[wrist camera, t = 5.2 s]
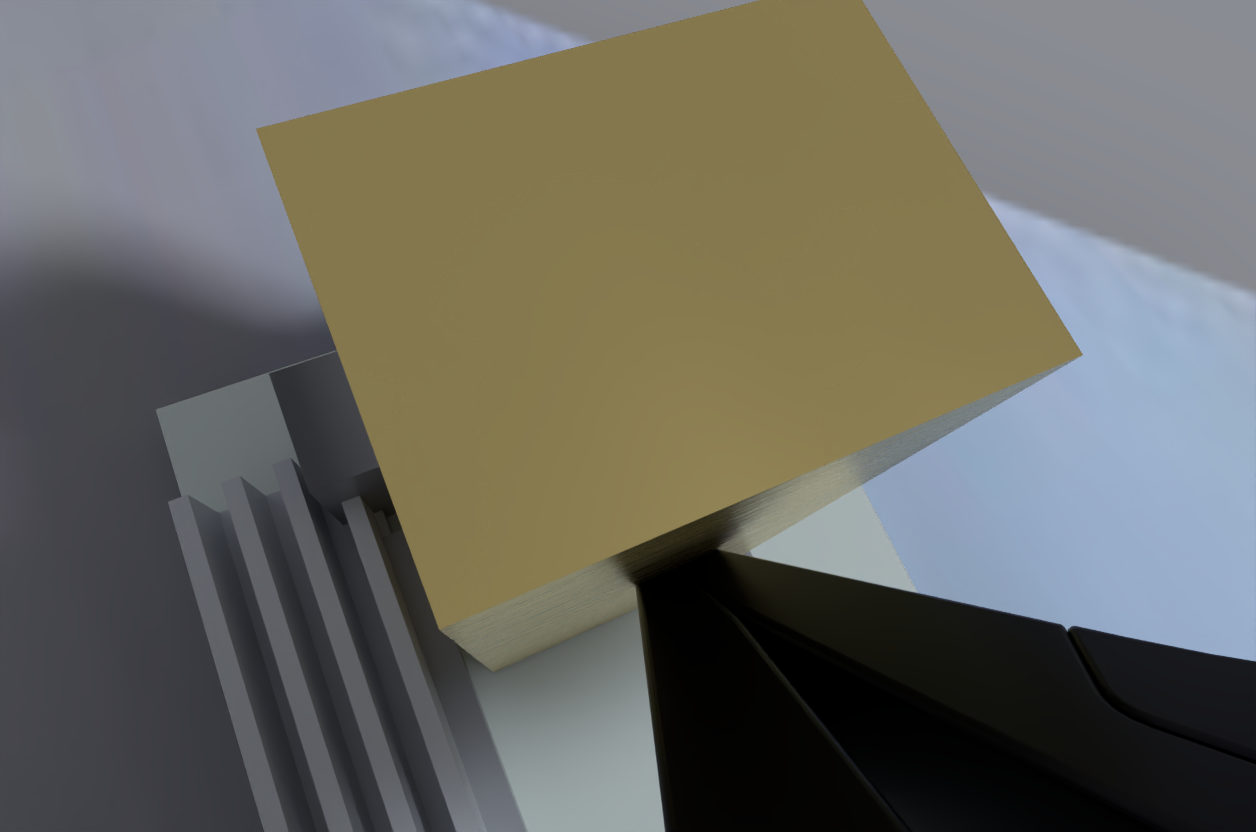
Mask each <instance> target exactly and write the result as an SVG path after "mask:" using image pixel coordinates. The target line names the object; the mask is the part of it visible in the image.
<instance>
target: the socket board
mask: <svg viewBox="0 0 1256 832" xmlns="http://www.w3.org/2000/svg"><path fill="white" fill-rule="evenodd" d="M156 413H157V416H158V419H159V423H160V426H161V429H162V433H163V436H164V439H165V443H166V446H167V450H168V453H169V456H170V460H171V463H172V466H173V470H174V473H175V476H176V480H177V483H178V487H179V490H180V493H181V497H179V498H176V499H174V500H171V501H168V505H169V508H170V511H171V515H172V518H173V522H174V525H175V529H176V532H177V535H178V539H179V542H180V546H181V549H182V552H183V556H184V559H185V563H186V566H187V570H188V573H189V576H190V580H191V583H192V587H193V590H194V594H195V597H196V600H197V604H198V607H199V611H200V614H201V618H202V621H203V624H204V628H205V631H206V635H207V638H208V642H209V645H210V648H211V652H212V655H213V659H214V662H215V665H216V669H217V672H218V676H219V679H220V683H221V686H222V689H223V693H224V696H225V700H226V703H227V707H228V710H229V713H230V717H231V720H232V724H233V727H234V731H235V734H236V737H237V741H238V744H239V748H240V751H241V754H242V758H243V761H244V765H245V768H246V772H247V775H248V778H249V782H250V785H251V789H252V792H253V796H254V799H255V802H256V806H257V809H258V813H259V816H260V820H261V823H262V826H263V830H264V832H665V828H664V820H663V812H662V803H661V795H660V787H659V779H658V770H657V762H656V754H655V745H654V737H653V729H652V721H651V712H650V704H649V696H648V688H647V679H646V671H645V663H644V655H643V646H642V638H641V630H640V622H639V613H638V609H635V610H633V611H631V612H629V613H627V614H624V615H622V616H620V617H618V618H615V619H613V620H611V621H609V622H606V623H604V624H602V625H600V626H598V627H595V628H593V629H591V630H589V631H586V632H584V633H582V634H580V635H577V636H575V637H573V638H571V639H569V640H566V641H564V642H562V643H560V644H557V645H555V646H553V647H551V648H548V649H546V650H544V651H542V652H540V653H537V654H535V655H533V656H531V657H528V658H526V659H524V660H522V661H519V662H517V663H515V664H513V665H511V666H508V667H506V668H504V669H502V670H499V671H497V672H495V673H494V672H492V671H491V670H490V669H489V668H487V667H486V666H485V665H483V664H482V663H481V662H480V661H478V660H477V659H476V658H475V657H473V656H472V655H471V654H469V653H468V652H467V651H466V650H464V649H463V648H462V647H461V646H459V645H458V644H457V643H455V642H454V641H453V640H452V639H450V638H449V637H448V636H447V635H445V634H444V633H443V632H441V631H440V630H439V628H438V625H437V622H436V620H435V617H434V614H433V611H432V609H431V606H430V603H429V600H428V598H427V595H426V592H425V589H424V587H423V584H422V581H421V579H420V576H419V573H418V570H417V568H416V565H415V562H414V559H413V557H412V554H411V551H410V548H409V546H408V543H407V540H406V538H405V535H404V532H403V529H402V527H401V524H400V521H399V518H398V516H397V513H396V510H395V507H394V505H393V502H392V499H391V497H390V494H389V491H388V488H387V486H386V483H385V480H384V477H383V475H382V472H381V469H380V466H379V464H378V461H377V458H376V456H375V453H374V450H373V447H372V445H371V442H370V439H369V436H368V434H367V431H366V428H365V425H364V423H363V420H362V417H361V415H360V412H359V409H358V406H357V404H356V401H355V398H354V395H353V393H352V390H351V387H350V384H349V382H348V379H347V376H346V374H345V371H344V368H343V365H342V363H341V360H340V357H339V354H338V352H337V350H335V351H332V352H329V353H326V354H323V355H320V356H317V357H314V358H311V359H308V360H305V361H302V362H299V363H296V364H292V365H289V366H286V367H283V368H280V369H277V370H274V371H271V372H268V373H265V374H262V375H259V376H256V377H253V378H250V379H247V380H244V381H241V382H238V383H235V384H232V385H229V386H226V387H222V388H219V389H216V390H213V391H210V392H207V393H204V394H201V395H198V396H195V397H192V398H189V399H186V400H183V401H180V402H177V403H174V404H171V405H168V406H165V407H162V408H159V409H156ZM743 555H747V556H751V557H756V558H760V559H765V560H770V561H774V562H779V563H783V564H788V565H792V566H797V567H802V568H806V569H811V570H815V571H820V572H824V573H829V574H833V575H838V576H843V577H847V578H852V579H856V580H861V581H865V582H870V583H875V584H879V585H884V586H888V587H893V588H897V589H902V590H906V591H911V592H916V593H918V592H917V590H916V589H915V587H914V585H913V583H912V581H911V579H910V577H909V575H908V573H907V571H906V569H905V568H904V566H903V564H902V562H901V560H900V558H899V556H898V554H897V552H896V550H895V548H894V546H893V545H892V543H891V541H890V539H889V537H888V535H887V533H886V531H885V529H884V527H883V525H882V524H881V522H880V520H879V518H878V516H877V514H876V512H875V510H874V508H873V506H872V504H871V503H870V501H869V499H868V497H867V495H866V493H865V491H864V489H863V487H862V485H861V486H859V487H857V488H856V489H854V490H852V491H851V492H849V493H847V494H845V495H844V496H842V497H840V498H839V499H837V500H835V501H834V502H832V503H830V504H828V505H827V506H825V507H823V508H822V509H820V510H818V511H817V512H815V513H813V514H811V515H810V516H808V517H806V518H805V519H803V520H801V521H800V522H798V523H796V524H794V525H793V526H791V527H789V528H788V529H786V530H784V531H783V532H781V533H779V534H777V535H776V536H774V537H772V538H771V539H769V540H767V541H766V542H764V543H762V544H760V545H759V546H757V547H755V548H754V549H752V550H750V551H748V552H747V553H745V554H743Z"/></svg>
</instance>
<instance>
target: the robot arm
mask: <svg viewBox="0 0 1256 832" xmlns="http://www.w3.org/2000/svg"><path fill="white" fill-rule="evenodd" d="M635 589H636V597H637V605H638V613H639V622H640V630H641V638H642V646H643V655H644V663H645V671H646V679H647V688H648V696H649V704H650V712H651V721H652V729H653V737H654V745H655V754H656V762H657V770H658V779H659V787H660V795H661V803H662V812H663V820H664V828H665V832H1256V661H1250V660H1244V659H1238V658H1232V657H1226V656H1220V655H1214V654H1209V653H1204V652H1199V651H1194V650H1189V649H1184V648H1179V647H1174V646H1169V645H1164V644H1159V643H1154V642H1149V641H1144V640H1139V639H1134V638H1129V637H1124V636H1119V635H1115V634H1110V633H1105V632H1101V631H1096V630H1092V629H1087V628H1082V627H1078V626H1072V627H1070V628H1069V629H1068V632H1067V630H1066V629H1065V627H1064V626H1063V625H1061V624H1057V623H1052V622H1048V621H1043V620H1039V619H1034V618H1030V617H1025V616H1021V615H1016V614H1011V613H1007V612H1002V611H998V610H993V609H989V608H984V607H979V606H975V605H970V604H966V603H961V602H957V601H952V600H948V599H943V598H938V597H934V596H929V595H925V594H920V593H916V592H911V591H906V590H902V589H897V588H893V587H888V586H884V585H879V584H875V583H870V582H865V581H861V580H856V579H852V578H847V577H843V576H838V575H833V574H829V573H824V572H820V571H815V570H811V569H806V568H802V567H797V566H792V565H788V564H783V563H779V562H774V561H770V560H765V559H760V558H756V557H751V556H747V555H742V554H738V553H733V552H729V551H724V550H719V549H716V550H714V551H711V552H709V553H707V554H705V555H702V556H700V557H698V558H696V559H693V560H691V561H689V562H686V563H684V564H682V565H680V566H678V567H677V568H673V569H671V570H668V571H666V572H664V573H661V574H659V575H657V576H655V577H652V578H650V579H648V580H646V581H643V582H641V583H639V584H637V585H636V586H635Z"/></svg>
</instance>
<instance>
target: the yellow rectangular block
mask: <svg viewBox="0 0 1256 832" xmlns="http://www.w3.org/2000/svg"><path fill="white" fill-rule="evenodd" d="M256 130H257V133H258V136H259V139H260V141H261V144H262V147H263V149H264V152H265V155H266V158H267V160H268V163H269V166H270V169H271V171H272V174H273V177H274V180H275V182H276V185H277V188H278V190H279V193H280V196H281V199H282V201H283V204H284V207H285V210H286V212H287V215H288V218H289V221H290V223H291V226H292V229H293V231H294V234H295V237H296V240H297V242H298V245H299V248H300V251H301V253H302V256H303V259H304V262H305V264H306V267H307V270H308V272H309V275H310V278H311V281H312V283H313V286H314V289H315V292H316V294H317V297H318V300H319V303H320V305H321V308H322V311H323V313H324V316H325V319H326V322H327V324H328V327H329V330H330V333H331V335H332V338H333V341H334V344H335V346H336V349H337V352H338V354H339V357H340V360H341V363H342V365H343V368H344V371H345V374H346V376H347V379H348V382H349V384H350V387H351V390H352V393H353V395H354V398H355V401H356V404H357V406H358V409H359V412H360V415H361V417H362V420H363V423H364V425H365V428H366V431H367V434H368V436H369V439H370V442H371V445H372V447H373V450H374V453H375V456H376V458H377V461H378V464H379V466H380V469H381V472H382V475H383V477H384V480H385V483H386V486H387V488H388V491H389V494H390V497H391V499H392V502H393V505H394V507H395V510H396V513H397V516H398V518H399V521H400V524H401V527H402V529H403V532H404V535H405V538H406V540H407V543H408V546H409V548H410V551H411V554H412V557H413V559H414V562H415V565H416V568H417V570H418V573H419V576H420V579H421V581H422V584H423V587H424V589H425V592H426V595H427V598H428V600H429V603H430V606H431V609H432V611H433V614H434V617H435V620H436V622H437V625H438V628H439V630H440V631H441V632H443V633H444V634H445V635H447V636H448V637H449V638H450V639H452V640H453V641H454V642H455V643H457V644H458V645H459V646H461V647H462V648H463V649H464V650H466V651H467V652H468V653H469V654H471V655H472V656H473V657H475V658H476V659H477V660H478V661H480V662H481V663H482V664H483V665H485V666H486V667H487V668H489V669H490V670H491V671H492V672H494V673H495V672H497V671H499V670H502V669H504V668H506V667H508V666H511V665H513V664H515V663H517V662H519V661H522V660H524V659H526V658H528V657H531V656H533V655H535V654H537V653H540V652H542V651H544V650H546V649H548V648H551V647H553V646H555V645H557V644H560V643H562V642H564V641H566V640H569V639H571V638H573V637H575V636H577V635H580V634H582V633H584V632H586V631H589V630H591V629H593V628H595V627H598V626H600V625H602V624H604V623H606V622H609V621H611V620H613V619H615V618H618V617H620V616H622V615H624V614H627V613H629V612H631V611H633V610H635V609H638V605H637V597H636V589H635V586H636V585H637V584H639V583H641V582H643V581H646V580H648V579H650V578H652V577H655V576H657V575H659V574H661V573H664V572H666V571H668V570H671V569H673V568H677V567H678V566H680V565H682V564H684V563H686V562H689V561H691V560H693V559H696V558H698V557H700V556H702V555H705V554H707V553H709V552H711V551H714V550H716V549H719V550H724V551H729V552H733V553H738V554H742V555H743V554H745V553H747V552H748V551H750V550H752V549H754V548H755V547H757V546H759V545H760V544H762V543H764V542H766V541H767V540H769V539H771V538H772V537H774V536H776V535H777V534H779V533H781V532H783V531H784V530H786V529H788V528H789V527H791V526H793V525H794V524H796V523H798V522H800V521H801V520H803V519H805V518H806V517H808V516H810V515H811V514H813V513H815V512H817V511H818V510H820V509H822V508H823V507H825V506H827V505H828V504H830V503H832V502H834V501H835V500H837V499H839V498H840V497H842V496H844V495H845V494H847V493H849V492H851V491H852V490H854V489H856V488H857V487H859V486H861V485H862V484H864V483H866V482H868V481H869V480H871V479H873V478H874V477H876V476H878V475H879V474H881V473H883V472H885V471H886V470H888V469H890V468H891V467H893V466H895V465H897V464H898V463H900V462H902V461H903V460H905V459H907V458H908V457H910V456H912V455H914V454H915V453H917V452H919V451H920V450H922V449H924V448H925V447H927V446H929V445H931V444H932V443H934V442H936V441H937V440H939V439H941V438H942V437H944V436H946V435H948V434H949V433H951V432H953V431H954V430H956V429H958V428H959V427H961V426H963V425H965V424H966V423H968V422H970V421H971V420H973V419H975V418H976V417H978V416H980V415H982V414H983V413H985V412H987V411H988V410H990V409H992V408H993V407H995V406H997V405H999V404H1000V403H1002V402H1004V401H1005V400H1007V399H1009V398H1010V397H1012V396H1014V395H1016V394H1017V393H1019V392H1021V391H1022V390H1024V389H1026V388H1028V387H1029V386H1031V385H1033V384H1034V383H1036V382H1038V381H1039V380H1041V379H1043V378H1045V377H1046V376H1048V375H1050V374H1051V373H1053V372H1055V371H1056V370H1058V369H1060V368H1062V367H1063V366H1065V365H1067V364H1068V363H1070V362H1072V361H1073V360H1075V359H1077V358H1079V357H1080V356H1082V355H1083V354H1082V353H1081V351H1080V349H1079V348H1078V346H1077V345H1076V343H1075V341H1074V340H1073V338H1072V337H1071V335H1070V333H1069V332H1068V330H1067V329H1066V327H1065V325H1064V324H1063V322H1062V321H1061V319H1060V317H1059V316H1058V314H1057V313H1056V311H1055V309H1054V308H1053V306H1052V305H1051V303H1050V301H1049V300H1048V298H1047V297H1046V295H1045V293H1044V292H1043V290H1042V288H1041V287H1040V285H1039V284H1038V282H1037V280H1036V279H1035V277H1034V276H1033V274H1032V272H1031V271H1030V269H1029V268H1028V266H1027V264H1026V263H1025V261H1024V260H1023V258H1022V256H1021V255H1020V253H1019V252H1018V250H1017V248H1016V247H1015V245H1014V244H1013V242H1012V240H1011V239H1010V237H1009V236H1008V234H1007V232H1006V231H1005V229H1004V227H1003V226H1002V224H1001V223H1000V221H999V219H998V218H997V216H996V215H995V213H994V211H993V210H992V208H991V207H990V205H989V203H988V202H987V200H986V199H985V197H984V195H983V194H982V192H981V191H980V189H979V187H978V186H977V184H976V183H975V181H974V180H973V178H972V176H971V175H970V173H969V171H968V170H967V168H966V167H965V165H964V163H963V162H962V160H961V158H960V157H959V155H958V154H957V152H956V151H955V149H954V147H953V146H952V144H951V143H950V141H949V139H948V138H947V136H946V134H945V133H944V131H943V130H942V128H941V126H940V125H939V124H938V122H937V120H936V118H935V117H934V116H933V114H932V112H931V110H930V109H929V107H928V106H927V104H926V102H925V101H924V99H923V98H922V96H921V94H920V93H919V91H918V89H917V88H916V86H915V85H914V83H913V81H912V80H911V78H910V77H909V75H908V73H907V72H906V70H905V69H904V67H903V65H902V64H901V62H900V61H899V59H898V57H897V56H896V54H895V53H894V51H893V49H892V48H891V46H890V45H889V43H888V42H887V40H886V38H885V36H884V35H883V33H882V32H881V30H880V29H879V27H878V25H877V24H876V22H875V20H874V19H873V17H872V16H871V14H870V12H869V11H868V9H867V8H866V6H865V5H864V3H863V1H862V0H759V1H755V2H751V3H748V4H744V5H740V6H736V7H732V8H728V9H724V10H720V11H716V12H712V13H708V14H705V15H701V16H697V17H693V18H689V19H685V20H681V21H678V22H673V23H669V24H665V25H661V26H657V27H654V28H650V29H646V30H642V31H638V32H634V33H630V34H626V35H622V36H618V37H614V38H611V39H607V40H603V41H599V42H595V43H591V44H587V45H583V46H579V47H575V48H571V49H567V50H563V51H560V52H556V53H552V54H548V55H544V56H540V57H536V58H532V59H528V60H524V61H520V62H516V63H513V64H509V65H505V66H501V67H497V68H493V69H489V70H485V71H481V72H477V73H473V74H469V75H466V76H462V77H458V78H454V79H450V80H446V81H442V82H438V83H434V84H430V85H426V86H422V87H419V88H415V89H411V90H407V91H403V92H399V93H395V94H391V95H387V96H383V97H379V98H375V99H372V100H368V101H364V102H360V103H356V104H352V105H348V106H344V107H340V108H336V109H332V110H328V111H325V112H321V113H317V114H313V115H309V116H305V117H301V118H297V119H293V120H289V121H285V122H281V123H278V124H274V125H270V126H266V127H262V128H258V129H256Z"/></svg>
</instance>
